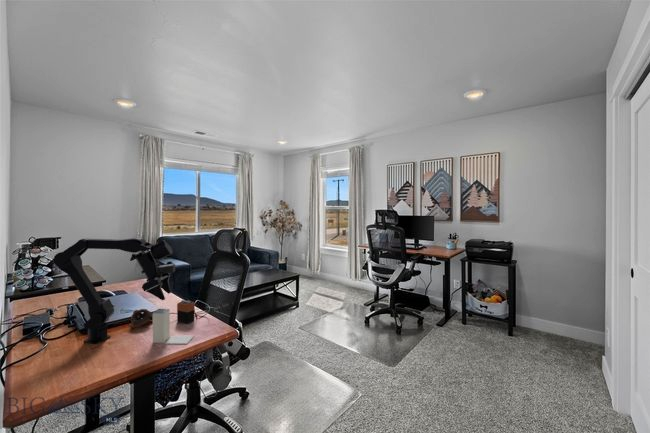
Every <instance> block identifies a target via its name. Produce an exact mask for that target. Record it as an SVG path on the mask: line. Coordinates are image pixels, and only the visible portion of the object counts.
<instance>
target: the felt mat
mask: <svg viewBox="0 0 650 433" xmlns="http://www.w3.org/2000/svg"><path fill="white" fill-rule="evenodd" d="M193 338H195V335H191V334H187V335H185V334H183V335H180V334H178V335H177V334H175V335H174V334H173V335H172V336H170V338H169V339H168V340H166V341H165V342H164V344H163V345H188V344H189V342H191V340H192V339H193Z"/></svg>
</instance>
